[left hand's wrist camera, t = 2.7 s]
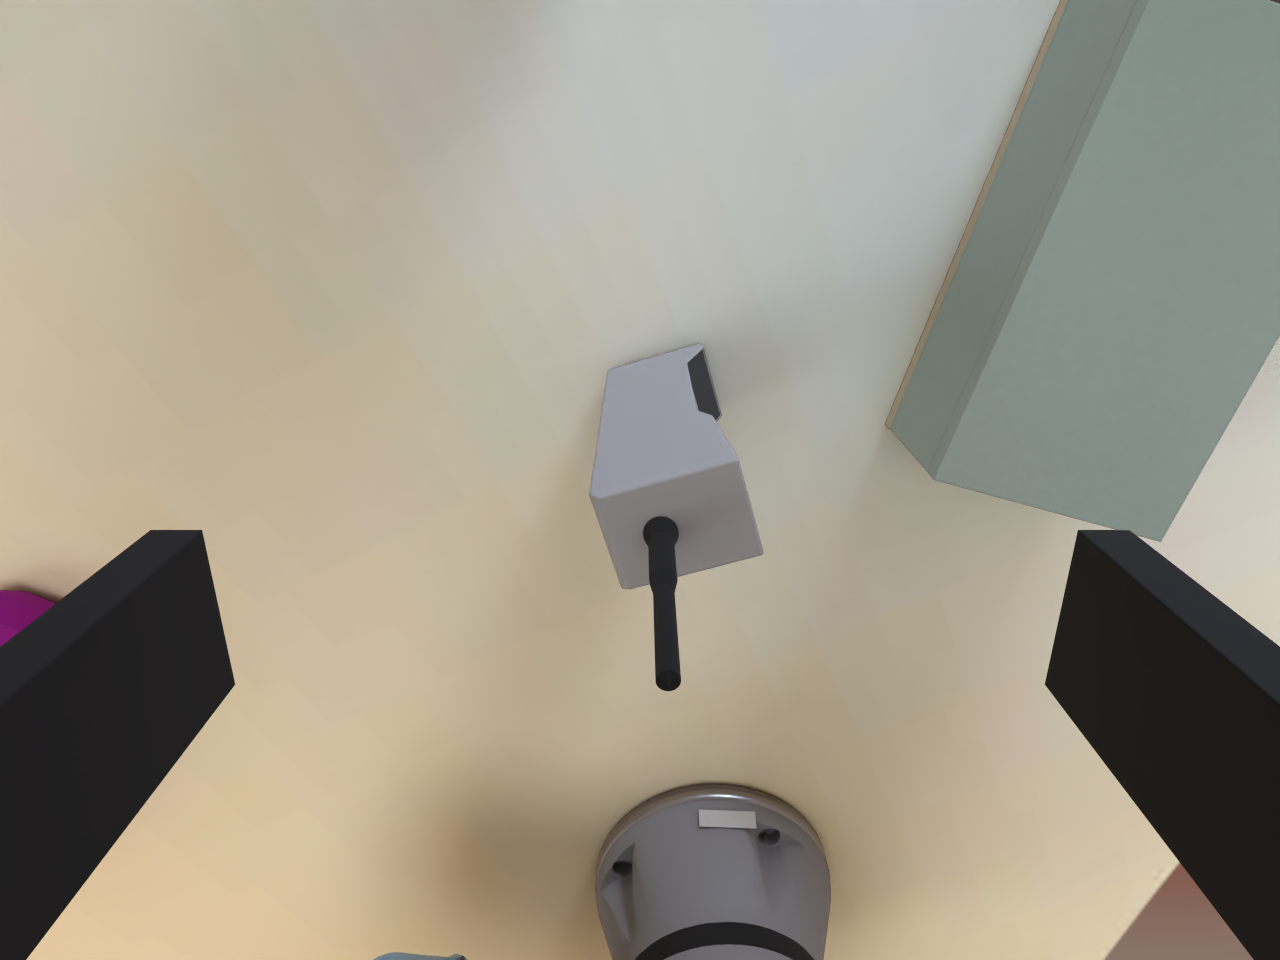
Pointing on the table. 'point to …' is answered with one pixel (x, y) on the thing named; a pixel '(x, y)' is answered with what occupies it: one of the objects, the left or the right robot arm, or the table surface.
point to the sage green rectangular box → (1112, 268)
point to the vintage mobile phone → (668, 486)
